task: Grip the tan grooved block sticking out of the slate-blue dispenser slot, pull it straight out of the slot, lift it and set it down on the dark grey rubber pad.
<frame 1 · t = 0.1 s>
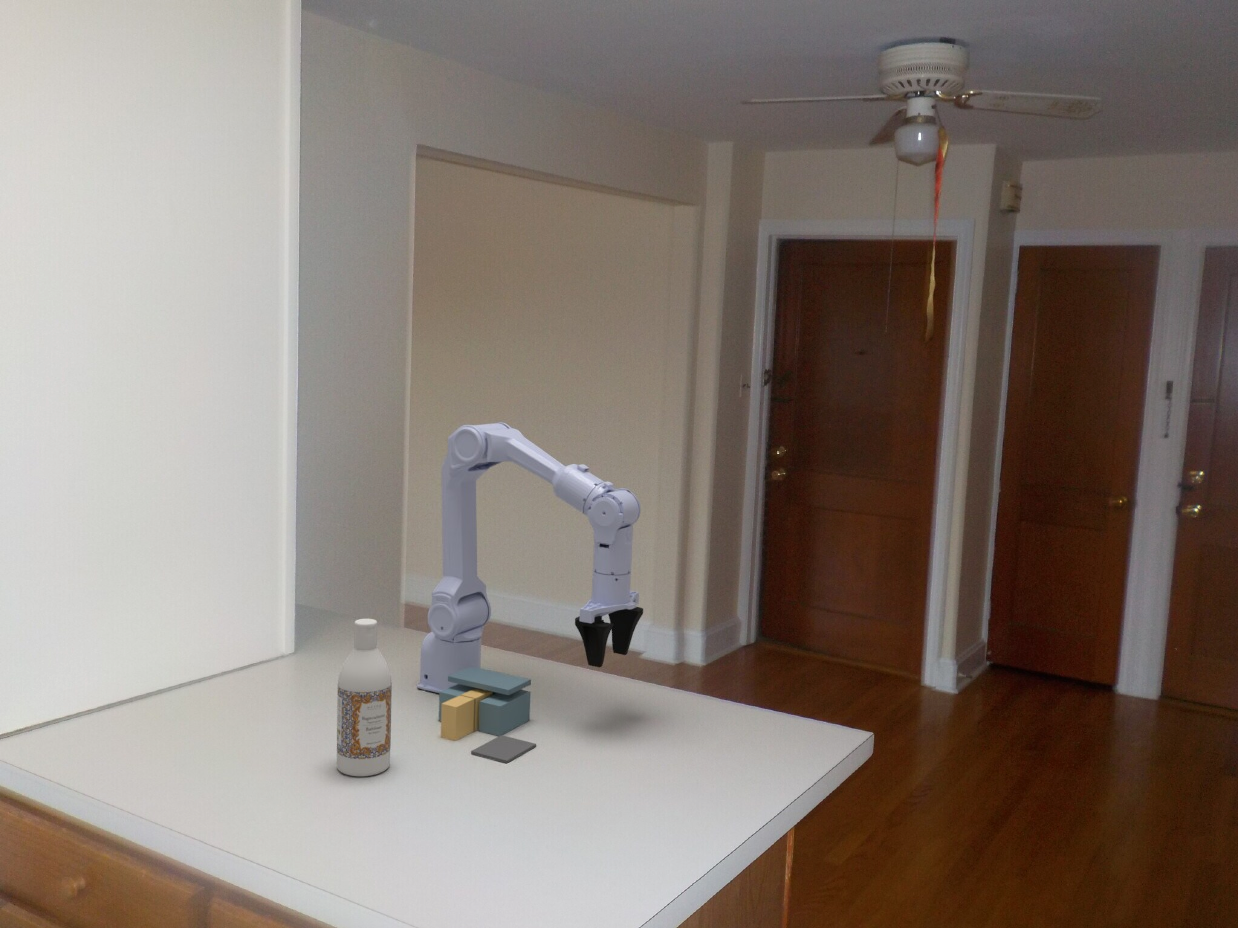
hand: (607, 659, 164), 10 cm above the worktop, fingers open, 7 cm apart
tan grooved block: (466, 729, 160), on the worktop
pad: (504, 749, 153), on the worktop
bath foam: (363, 768, 145), on the worktop
dispenser: (484, 720, 164), on the worktop
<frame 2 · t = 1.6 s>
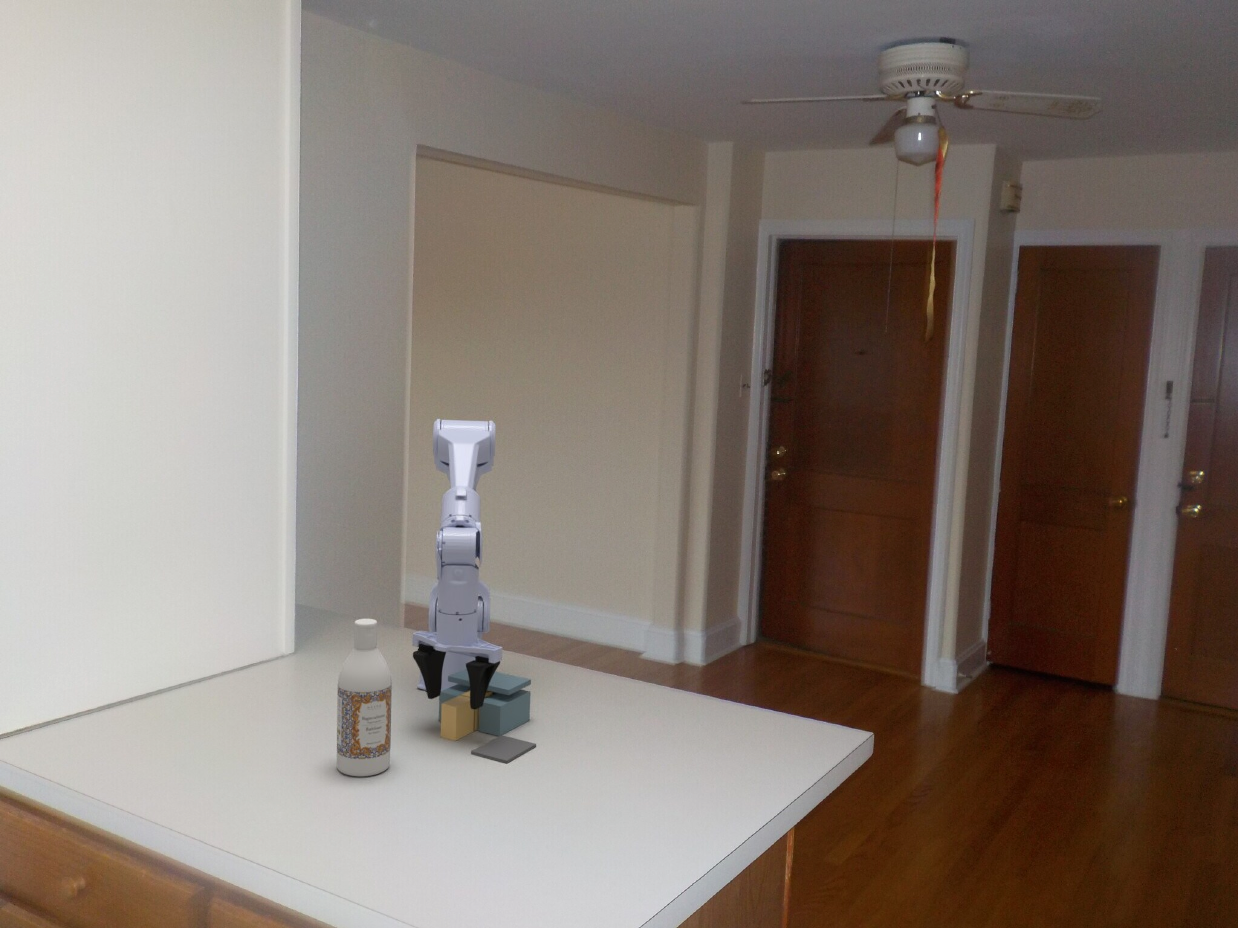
hand: (455, 702, 157), 5 cm above the worktop, fingers open, 7 cm apart
nothing on the worktop moved.
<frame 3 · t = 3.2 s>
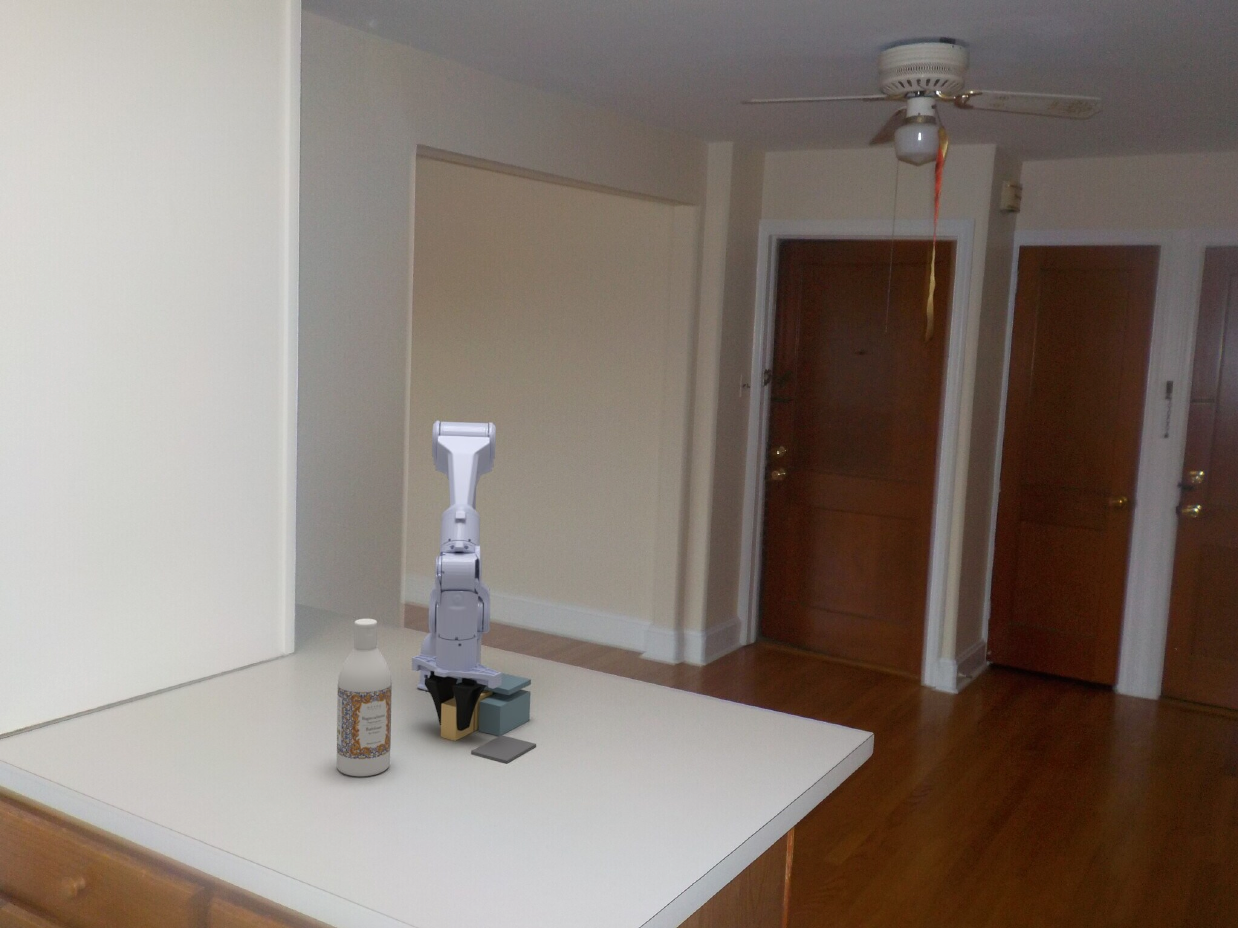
hand: (454, 726, 158), 1 cm above the worktop, fingers closed on tan grooved block, 3 cm apart
tan grooved block: (466, 729, 160), on the worktop, touching gripper
everything else where it was.
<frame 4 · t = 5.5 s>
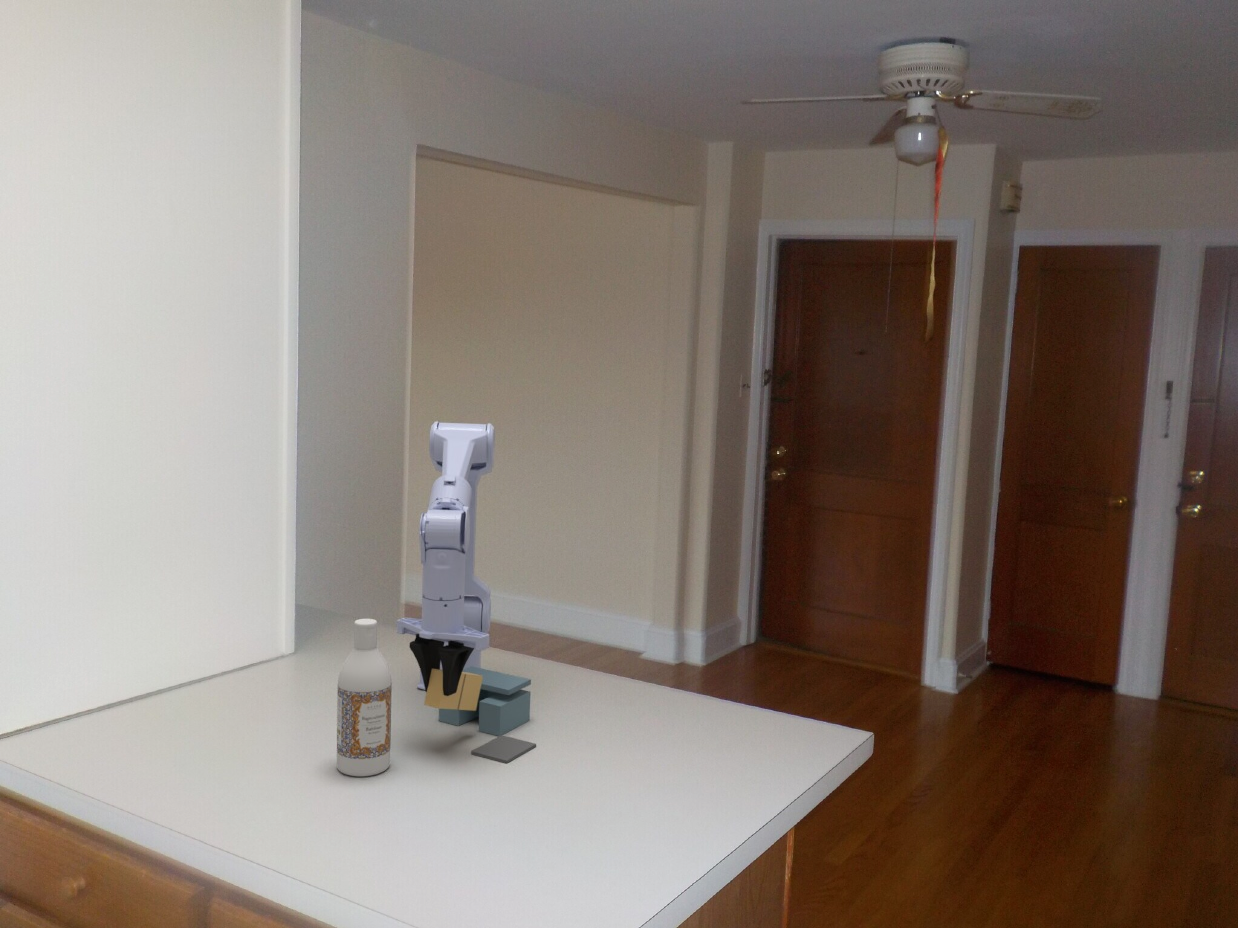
hand: (440, 691, 151), 8 cm above the worktop, fingers closed on tan grooved block, 3 cm apart
tan grooved block: (450, 707, 154), point 5 cm above the worktop, tilted 18°, touching gripper
everything else where it was.
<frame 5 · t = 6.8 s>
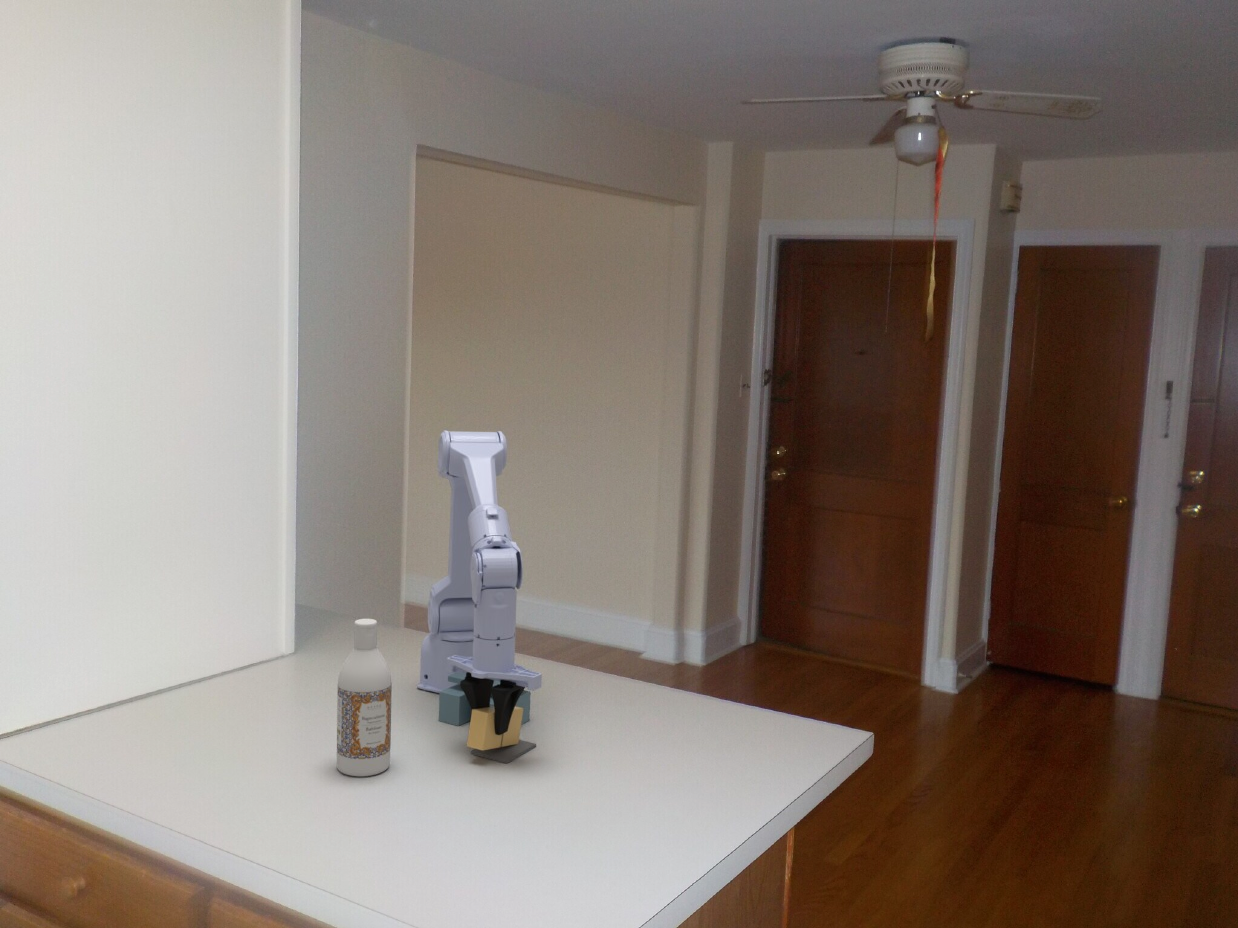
hand: (491, 730, 151), 4 cm above the worktop, fingers closed on tan grooved block, 3 cm apart
tan grooved block: (493, 744, 151), point 1 cm above the worktop, tilted 12°, touching gripper, pad
everything else where it was.
when the fingers open (3 cm above the worktop, at t = 7.7 s): tan grooved block stays where it is, resting on pad.
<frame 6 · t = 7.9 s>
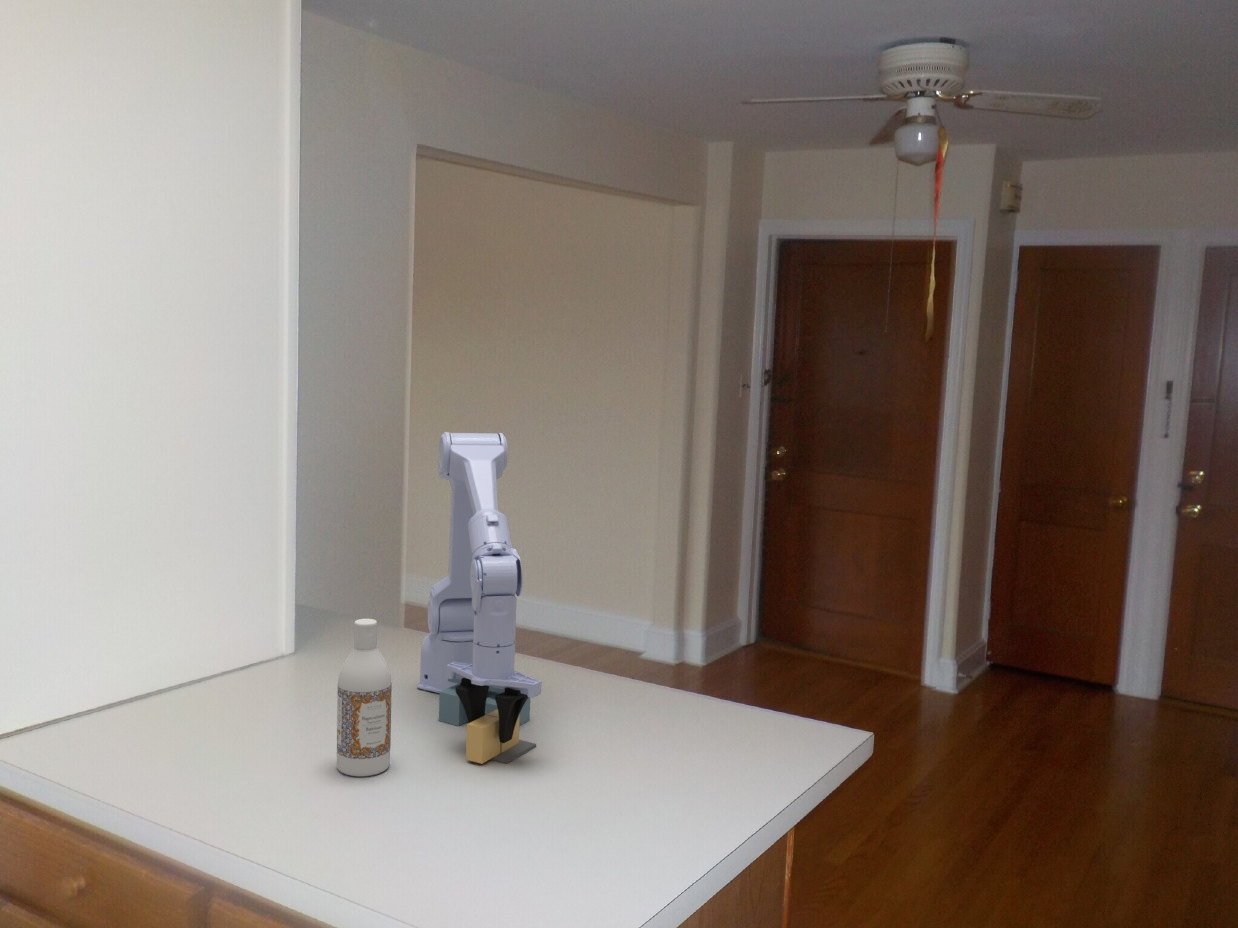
hand: (491, 736, 151), 3 cm above the worktop, fingers open, 4 cm apart
tan grooved block: (492, 750, 152), resting on pad
everything else where it was.
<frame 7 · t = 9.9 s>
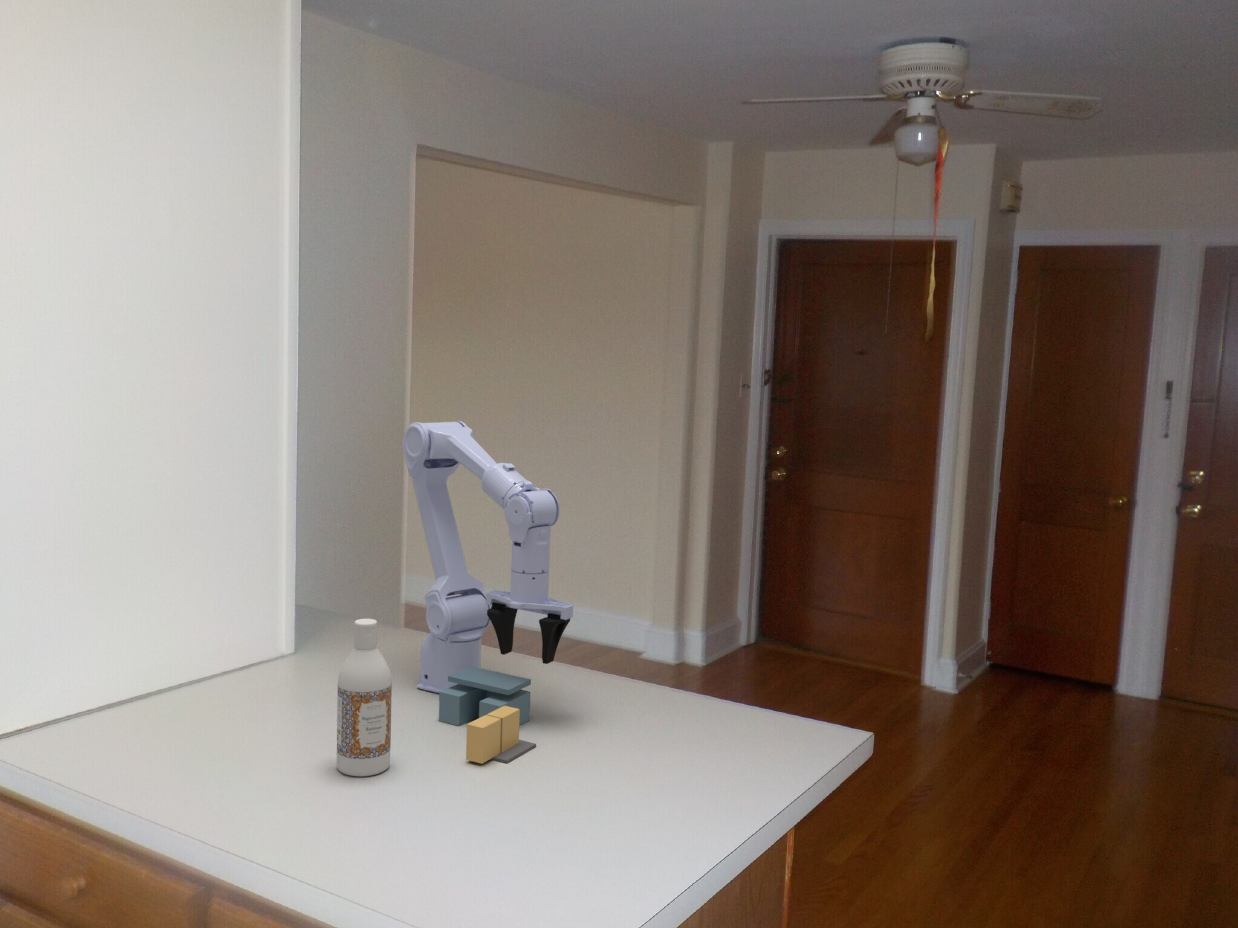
hand: (526, 657, 166), 9 cm above the worktop, fingers open, 7 cm apart
nothing on the worktop moved.
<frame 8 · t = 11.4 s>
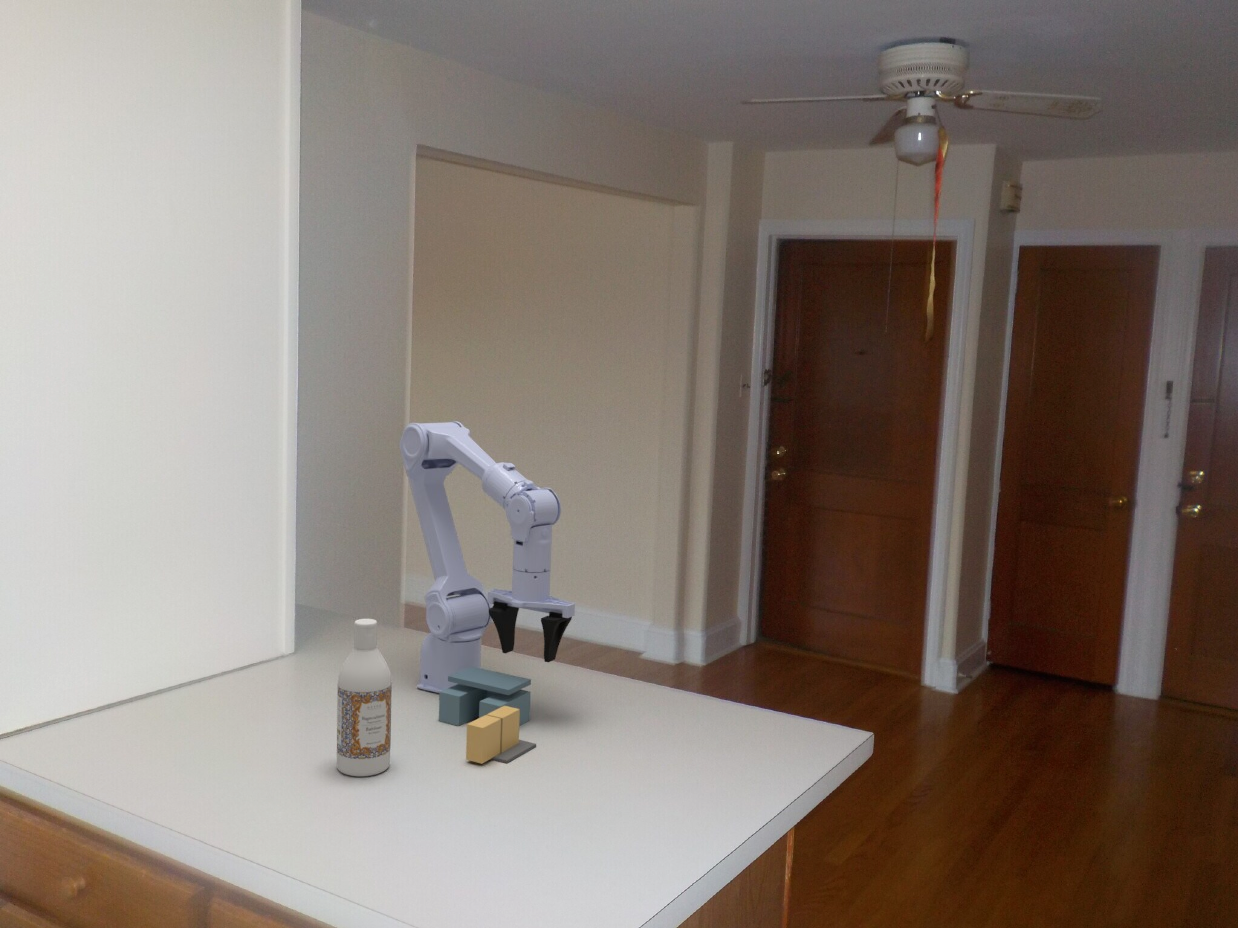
hand: (528, 655, 166), 9 cm above the worktop, fingers open, 7 cm apart
nothing on the worktop moved.
at the end: tan grooved block 2.1 cm from the pad (horizontally); tan grooved block on the worktop; the gripper is holding nothing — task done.
